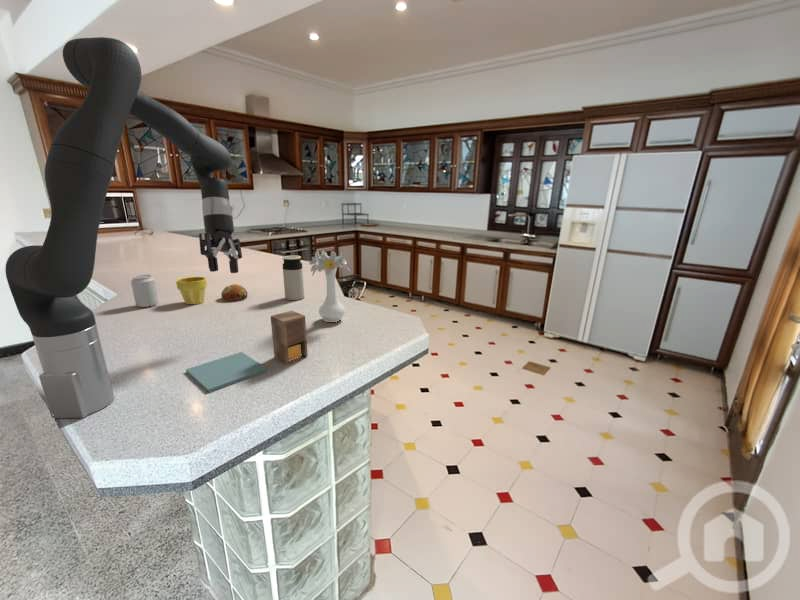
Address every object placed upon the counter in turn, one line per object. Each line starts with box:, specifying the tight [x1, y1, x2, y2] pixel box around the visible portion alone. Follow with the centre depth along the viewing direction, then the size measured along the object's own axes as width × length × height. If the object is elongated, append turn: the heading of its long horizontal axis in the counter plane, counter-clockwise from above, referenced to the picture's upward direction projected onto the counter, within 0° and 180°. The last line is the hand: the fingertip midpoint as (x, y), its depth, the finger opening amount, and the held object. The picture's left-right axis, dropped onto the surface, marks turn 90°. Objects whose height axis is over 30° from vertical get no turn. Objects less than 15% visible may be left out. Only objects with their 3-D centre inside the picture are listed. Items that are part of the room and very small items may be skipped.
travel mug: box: [282, 255, 305, 301], centre depth 149 cm, size 8×8×18 cm
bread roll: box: [221, 283, 249, 302], centre depth 149 cm, size 10×10×8 cm
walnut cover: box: [270, 310, 309, 365], centre depth 95 cm, size 6×6×12 cm
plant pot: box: [175, 276, 207, 305], centre depth 142 cm, size 10×10×10 cm
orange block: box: [288, 343, 302, 361], centre depth 96 cm, size 4×4×4 cm
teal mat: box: [185, 351, 268, 394], centre depth 88 cm, size 14×14×1 cm
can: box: [130, 274, 160, 308], centre depth 137 cm, size 8×8×12 cm
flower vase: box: [308, 250, 351, 323], centre depth 122 cm, size 13×18×25 cm
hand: (224, 272), depth 100 cm, fingers open, 8 cm apart
